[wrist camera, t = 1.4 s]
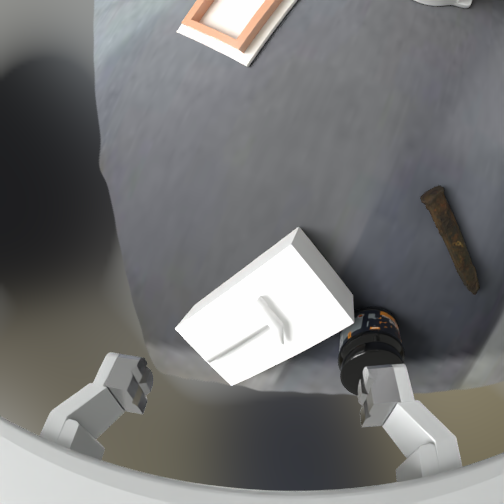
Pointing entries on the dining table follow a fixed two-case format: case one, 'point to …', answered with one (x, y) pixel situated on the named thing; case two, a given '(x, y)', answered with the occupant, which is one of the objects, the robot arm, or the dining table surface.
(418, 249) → the dining table surface
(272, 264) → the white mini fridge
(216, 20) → the socket
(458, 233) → the hand tool
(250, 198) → the dining table surface
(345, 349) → the supplement container
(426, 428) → the robot arm
